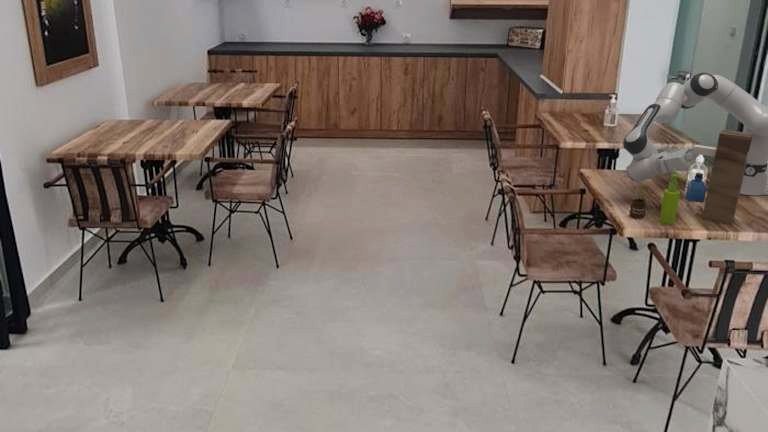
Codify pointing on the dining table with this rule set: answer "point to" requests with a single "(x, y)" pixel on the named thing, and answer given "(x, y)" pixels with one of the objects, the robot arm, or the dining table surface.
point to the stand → (727, 176)
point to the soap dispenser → (670, 201)
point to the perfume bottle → (696, 189)
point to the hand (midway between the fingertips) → (699, 150)
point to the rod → (706, 150)
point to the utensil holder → (638, 207)
